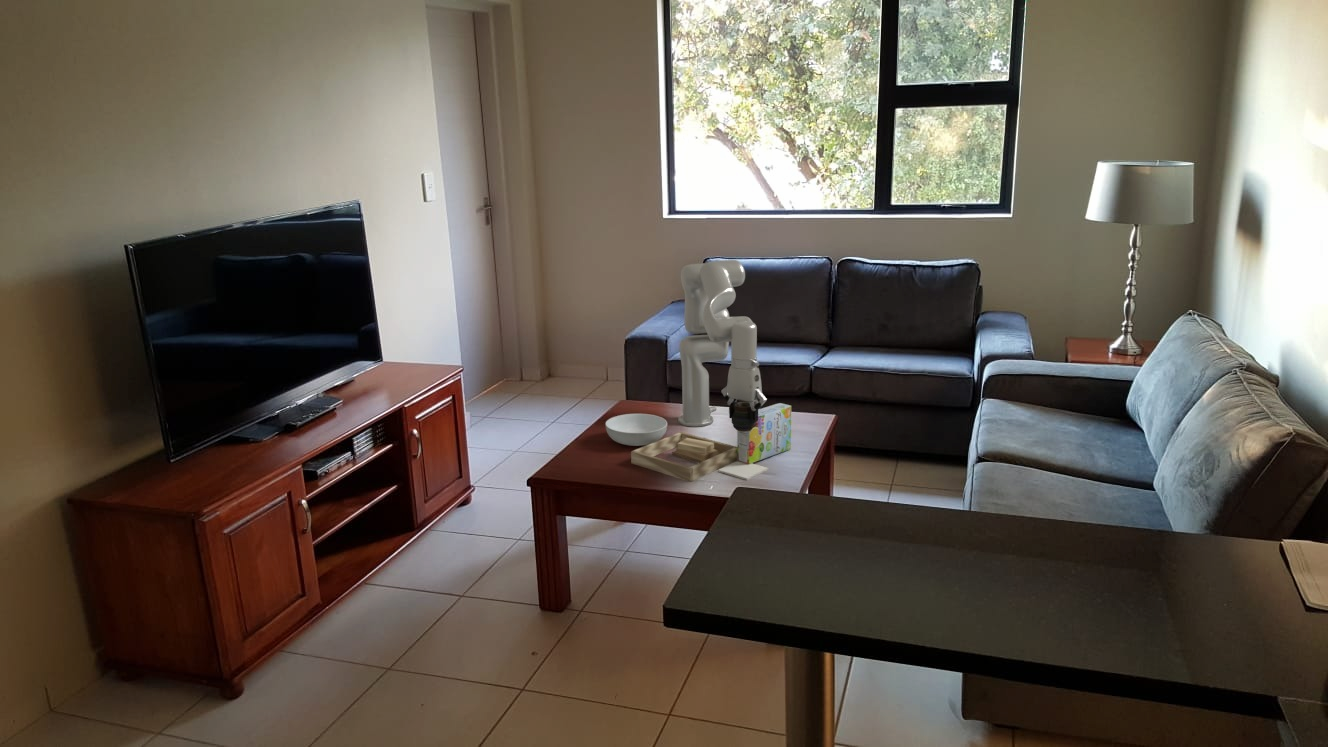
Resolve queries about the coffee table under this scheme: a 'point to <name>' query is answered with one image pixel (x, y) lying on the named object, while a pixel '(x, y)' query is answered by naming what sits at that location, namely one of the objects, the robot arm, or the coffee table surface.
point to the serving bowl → (636, 429)
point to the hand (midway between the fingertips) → (743, 419)
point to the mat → (743, 470)
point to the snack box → (766, 434)
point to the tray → (647, 460)
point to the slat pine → (696, 445)
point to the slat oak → (698, 454)
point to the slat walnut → (686, 457)
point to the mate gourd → (742, 417)
